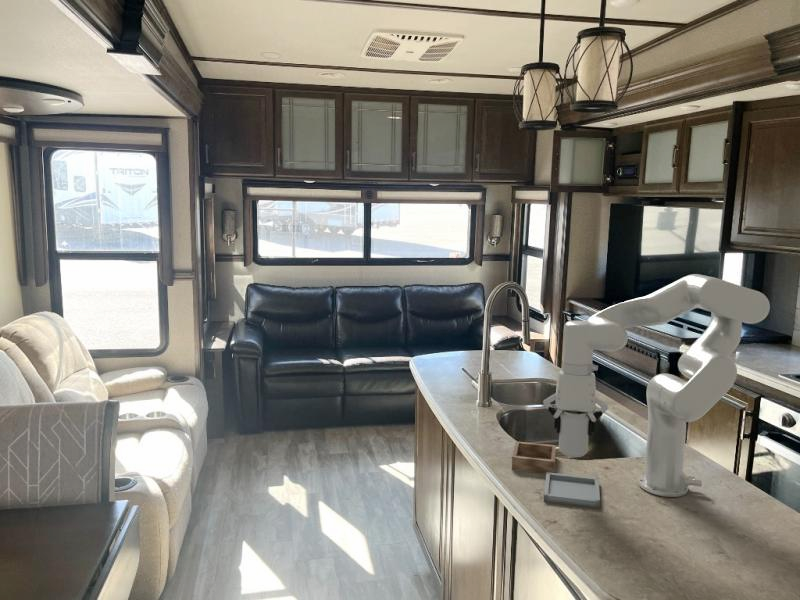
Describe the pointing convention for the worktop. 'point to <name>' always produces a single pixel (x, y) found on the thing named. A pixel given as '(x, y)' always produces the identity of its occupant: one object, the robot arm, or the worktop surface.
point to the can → (574, 433)
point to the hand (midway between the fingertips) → (573, 432)
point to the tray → (572, 490)
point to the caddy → (534, 463)
